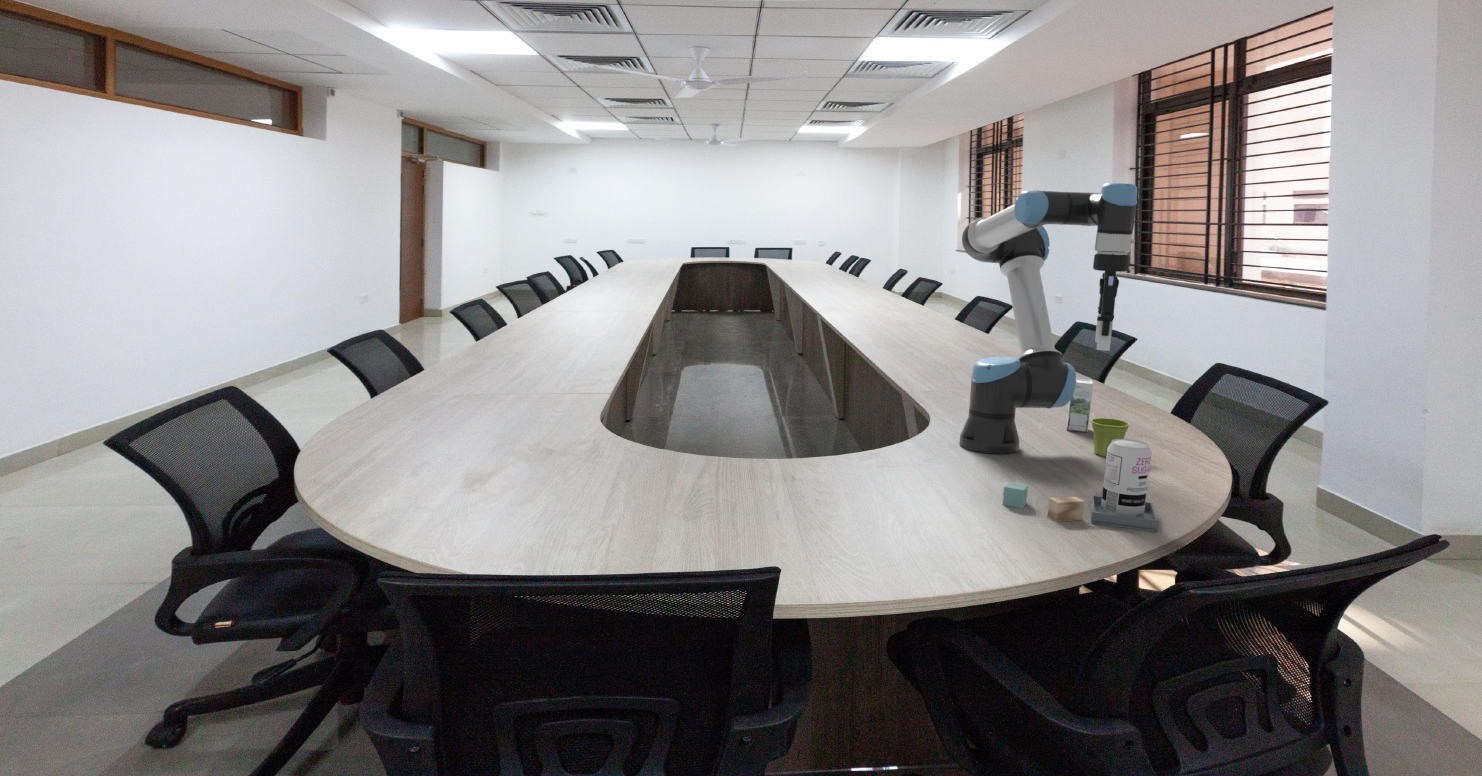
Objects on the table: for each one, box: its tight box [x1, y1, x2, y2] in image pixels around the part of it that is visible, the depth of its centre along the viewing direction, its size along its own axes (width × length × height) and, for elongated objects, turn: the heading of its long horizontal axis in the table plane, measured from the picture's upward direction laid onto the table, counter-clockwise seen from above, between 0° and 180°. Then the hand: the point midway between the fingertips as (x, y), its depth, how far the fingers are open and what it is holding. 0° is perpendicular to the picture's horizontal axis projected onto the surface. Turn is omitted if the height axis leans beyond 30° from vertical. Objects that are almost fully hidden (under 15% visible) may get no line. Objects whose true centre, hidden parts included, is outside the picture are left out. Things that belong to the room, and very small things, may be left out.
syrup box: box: [1066, 378, 1094, 433], centre depth 258 cm, size 6×6×14 cm
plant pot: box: [1090, 417, 1131, 458], centre depth 232 cm, size 9×9×9 cm
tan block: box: [1047, 496, 1085, 522], centre depth 182 cm, size 6×3×4 cm, turn 105°
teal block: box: [1002, 481, 1029, 509], centre depth 190 cm, size 4×4×4 cm
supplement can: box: [1101, 438, 1153, 517], centre depth 182 cm, size 8×8×15 cm
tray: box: [1089, 494, 1159, 533], centre depth 183 cm, size 12×12×2 cm
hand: (1101, 346), depth 208 cm, fingers open, 13 cm apart
